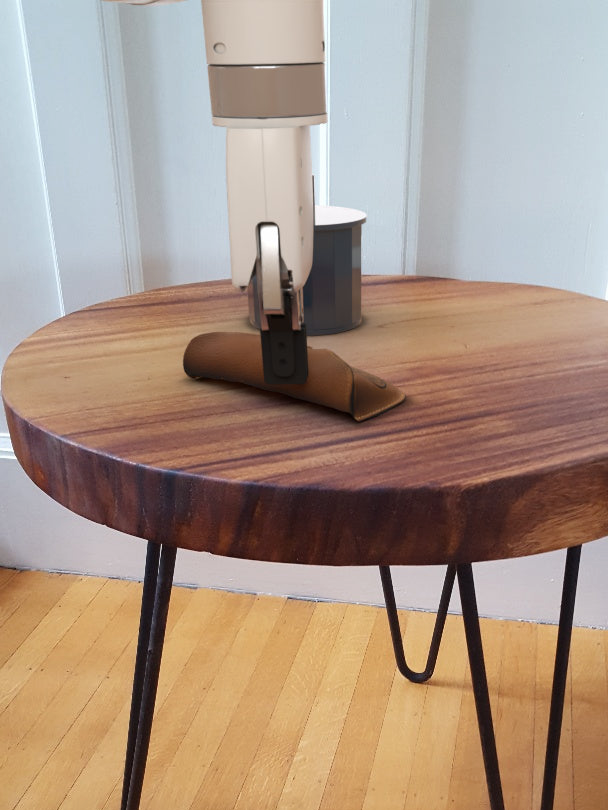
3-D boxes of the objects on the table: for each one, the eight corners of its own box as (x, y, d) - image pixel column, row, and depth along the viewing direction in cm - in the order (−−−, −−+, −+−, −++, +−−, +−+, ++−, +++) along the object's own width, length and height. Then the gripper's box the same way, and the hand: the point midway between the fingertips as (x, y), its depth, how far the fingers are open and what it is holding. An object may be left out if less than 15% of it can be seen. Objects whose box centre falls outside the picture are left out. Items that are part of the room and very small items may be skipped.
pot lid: (295, 243, 86) (294, 186, 83) (213, 225, 93) (209, 173, 91) (393, 227, 93) (394, 175, 91) (309, 212, 100) (308, 163, 98)
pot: (299, 342, 91) (296, 235, 86) (227, 319, 98) (220, 219, 93) (384, 321, 98) (385, 221, 93) (311, 302, 105) (308, 207, 100)
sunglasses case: (414, 391, 77) (391, 327, 72) (370, 456, 75) (343, 395, 70) (249, 354, 86) (217, 294, 81) (205, 411, 84) (169, 353, 78)
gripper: (228, 92, 68) (250, 353, 78) (189, 106, 56) (221, 414, 66) (333, 91, 68) (342, 353, 78) (317, 104, 55) (329, 414, 65)
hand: (286, 380), depth 72 cm, fingers closed
